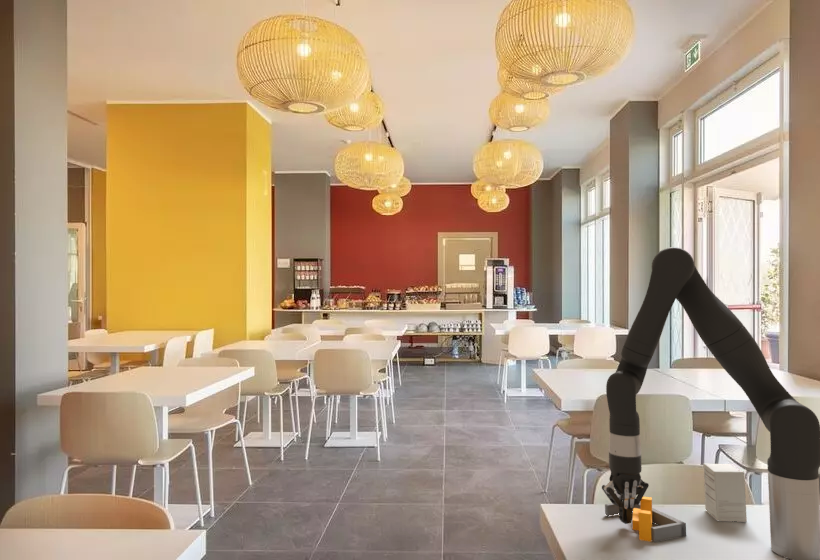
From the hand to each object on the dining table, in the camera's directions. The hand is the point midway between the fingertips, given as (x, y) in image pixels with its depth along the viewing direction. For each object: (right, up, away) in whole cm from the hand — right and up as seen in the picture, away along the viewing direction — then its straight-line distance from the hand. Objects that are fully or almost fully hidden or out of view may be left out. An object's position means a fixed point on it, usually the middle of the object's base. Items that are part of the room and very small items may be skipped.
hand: (625, 522), depth 134 cm
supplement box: (+28, -2, +7) cm, 29 cm away
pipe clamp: (+3, -2, -1) cm, 4 cm away
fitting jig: (+5, -1, +1) cm, 5 cm away
